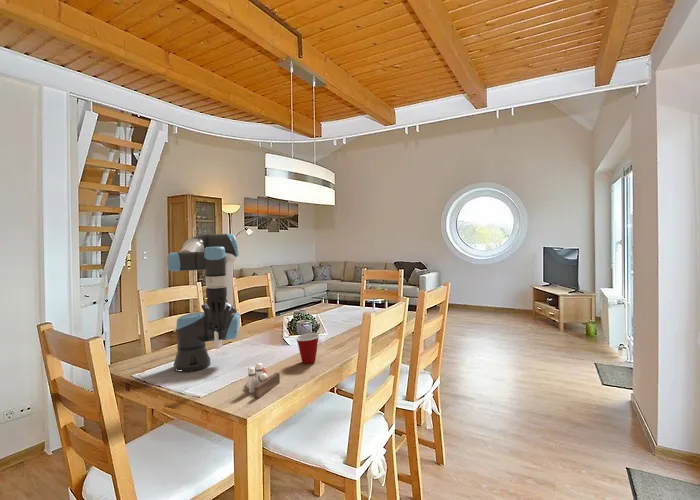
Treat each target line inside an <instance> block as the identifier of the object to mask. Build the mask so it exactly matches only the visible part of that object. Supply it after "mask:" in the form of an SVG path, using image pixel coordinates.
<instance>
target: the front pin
mask: <svg viewBox="0 0 700 500" xmlns="http://www.w3.org/2000/svg"><path fill="white" fill-rule="evenodd" d="M266 373H267V372H266ZM266 373H263V374H261V375H259V376H257V377H256V378H255V384H258V383H260V382H262V381H264V380H266V379H267V378H268V377H269V376H268V374H266ZM245 386H246V388H247V389H249V380H248V381H247V382H246V383H245Z"/></svg>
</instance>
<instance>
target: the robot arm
mask: <svg viewBox="0 0 700 500" xmlns="http://www.w3.org/2000/svg"><path fill="white" fill-rule="evenodd" d="M238 256H239V249H238V241H237V236H236V235H235V234H233V233H213V234H212V233H211V234H210V233H206V234H205V233H204V234H199V235H195V236H192V237H190V238H188V239H187V240H186V241H184V243H183V245H182V248H181V250H179V251H175V252H169V253H168V254H167V256H166V257H167V258H166V259H167V261H166V263H167V264H166V265H167V269H168V271H170V272H187V271H188V272H189V271H205V275H204V276H205V287H206V289H205V298H207V299H206V302H205V303H204V304H201V305H200V306H201V309H202V310H203V311H196V312H192V313H187V314H184V315H183V314H182V315H181V316H179V317H178V318H177V319H176V326H175V329H176V330H175V331H176V344H177V345H176V348H177V351H176V355H175V358H174V362H173V369H174V368H175V369H177V370H182V371H190V372H192V371H191V370H196V371H199V370H198V369H201V370H203V369H202V368H204V369H206V368H208V367H209V366H210V365H211V357H210V356H209V353H208V350H207V346H206V342H207V343H208V342H214V350H219V349H222V348H223V347H224V346H223V341H229V340H235V339H237V337H238V336H239V332H240V321H241V320H240V319H241V314H240V312H237V310H238V309H237V308H235V307H234V291H233V290H234V286H233V285H234V282H233V280H234V279H233V277H234V276H233V274H234V273H233V263H234V262H235V261H236V258H237V257H238ZM207 366H208V367H207ZM205 367H206V368H205Z"/></svg>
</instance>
